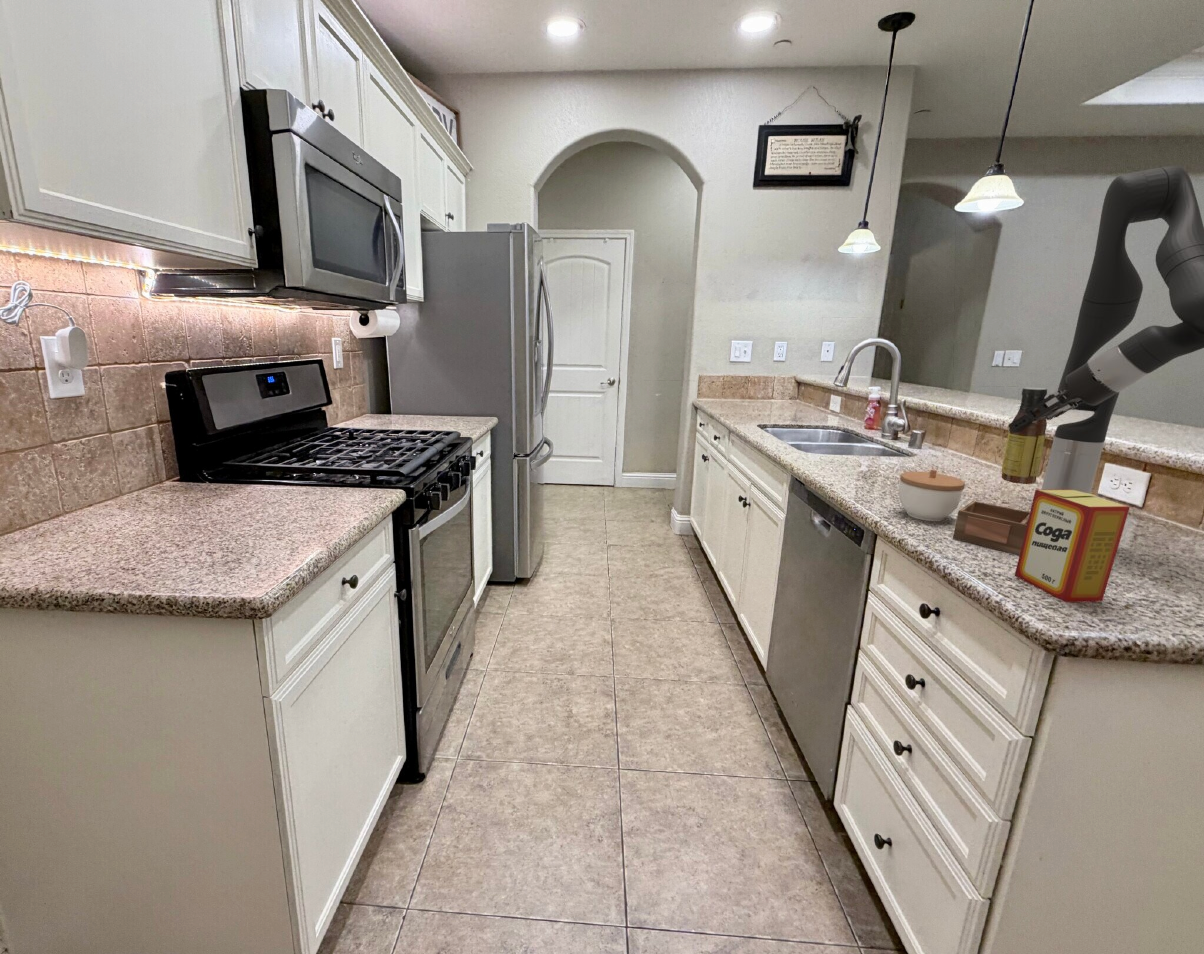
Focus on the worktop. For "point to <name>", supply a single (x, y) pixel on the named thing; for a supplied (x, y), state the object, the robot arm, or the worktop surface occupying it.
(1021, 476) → the sauce bottle
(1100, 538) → the baking soda box
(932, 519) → the white lidded bowl
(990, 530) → the wooden compartment tray
